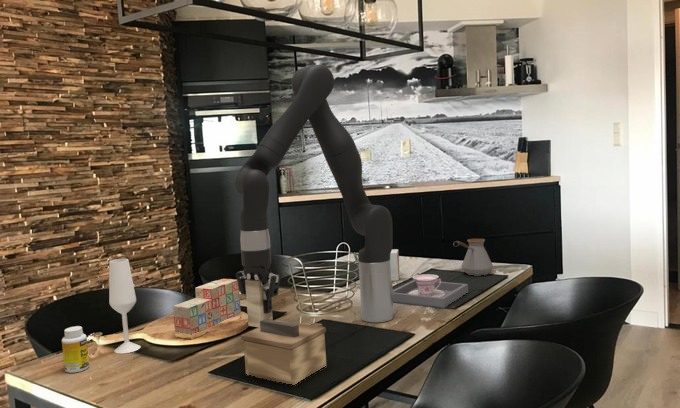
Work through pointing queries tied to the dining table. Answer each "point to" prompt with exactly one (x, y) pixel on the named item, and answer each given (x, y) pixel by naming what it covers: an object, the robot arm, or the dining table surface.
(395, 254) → the small box
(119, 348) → the champagne flute
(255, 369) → the open wooden box
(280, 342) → the lid
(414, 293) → the teacup
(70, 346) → the supplement bottle
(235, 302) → the stack of blocks
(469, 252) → the coffee pot
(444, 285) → the coaster tray
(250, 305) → the key block
